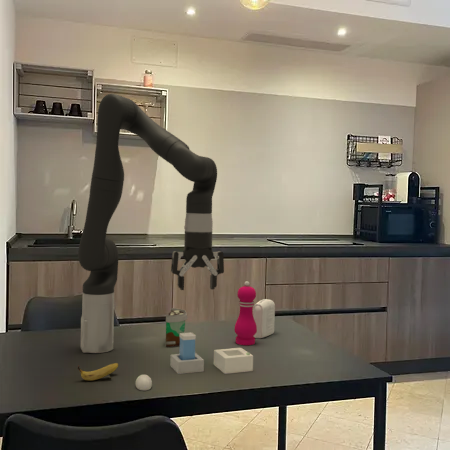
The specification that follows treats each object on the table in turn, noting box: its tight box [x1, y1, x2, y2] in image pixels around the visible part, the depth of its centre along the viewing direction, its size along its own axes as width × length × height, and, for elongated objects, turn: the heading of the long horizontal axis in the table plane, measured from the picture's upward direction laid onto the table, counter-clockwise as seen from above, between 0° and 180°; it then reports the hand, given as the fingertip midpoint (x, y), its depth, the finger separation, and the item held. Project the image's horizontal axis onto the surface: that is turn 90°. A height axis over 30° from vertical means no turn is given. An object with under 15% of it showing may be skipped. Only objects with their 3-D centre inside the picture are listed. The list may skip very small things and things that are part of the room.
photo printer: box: [253, 298, 276, 339], centre depth 181 cm, size 10×4×12 cm, turn 148°
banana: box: [77, 362, 120, 381], centre depth 132 cm, size 10×2×4 cm, turn 108°
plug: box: [179, 332, 197, 360], centre depth 140 cm, size 3×3×9 cm
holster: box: [169, 352, 205, 375], centre depth 140 cm, size 7×7×4 cm
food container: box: [165, 307, 189, 348], centre depth 168 cm, size 12×6×10 cm, turn 179°
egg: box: [135, 374, 153, 392], centre depth 126 cm, size 4×6×4 cm, turn 16°
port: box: [213, 347, 254, 375], centre depth 142 cm, size 8×8×5 cm
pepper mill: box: [234, 280, 257, 346], centre depth 170 cm, size 7×7×20 cm
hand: (197, 289), depth 144 cm, fingers open, 8 cm apart
